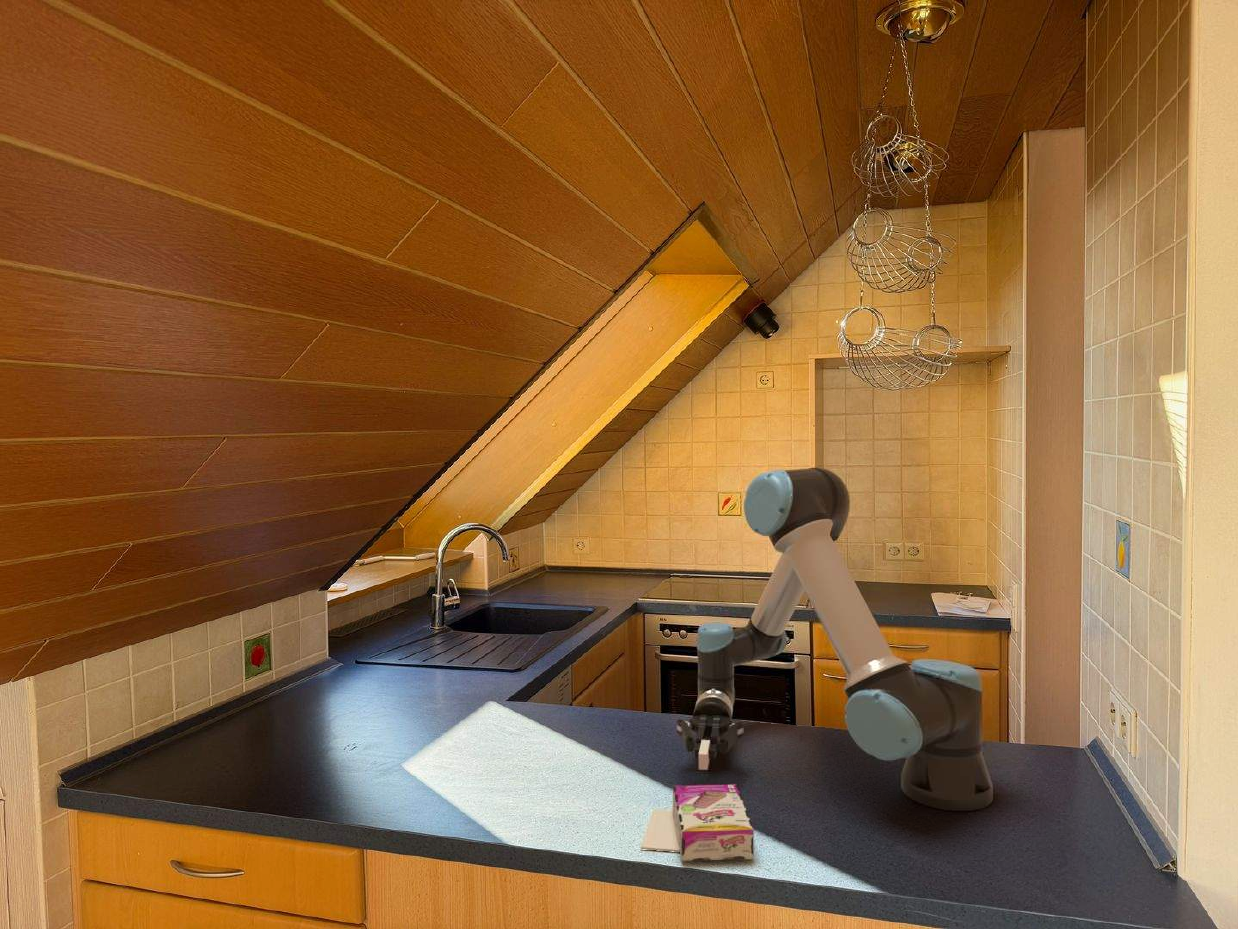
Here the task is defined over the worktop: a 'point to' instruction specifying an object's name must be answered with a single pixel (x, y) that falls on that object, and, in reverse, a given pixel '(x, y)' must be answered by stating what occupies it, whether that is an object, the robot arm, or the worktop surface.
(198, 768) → the worktop surface
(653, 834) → the mat
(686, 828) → the candy bar box
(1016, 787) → the worktop surface
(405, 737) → the worktop surface
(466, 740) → the worktop surface
